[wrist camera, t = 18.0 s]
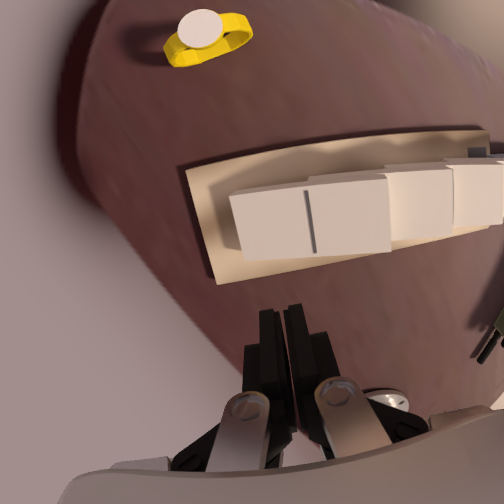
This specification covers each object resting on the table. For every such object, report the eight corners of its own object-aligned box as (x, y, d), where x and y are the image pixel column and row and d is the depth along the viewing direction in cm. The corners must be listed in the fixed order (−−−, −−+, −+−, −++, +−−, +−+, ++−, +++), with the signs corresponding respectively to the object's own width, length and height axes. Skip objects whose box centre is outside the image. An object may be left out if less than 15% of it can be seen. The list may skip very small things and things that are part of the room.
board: (484, 225, 25) (489, 228, 24) (218, 280, 27) (217, 285, 26) (483, 129, 21) (489, 130, 20) (187, 169, 23) (185, 170, 22)
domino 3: (383, 164, 22) (496, 161, 18) (388, 225, 24) (494, 217, 20) (387, 168, 20) (505, 164, 17) (391, 232, 22) (502, 224, 19)
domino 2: (309, 176, 22) (445, 165, 19) (318, 238, 24) (445, 227, 21) (307, 181, 21) (452, 169, 17) (317, 247, 23) (452, 235, 19)
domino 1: (236, 190, 23) (384, 173, 19) (250, 251, 25) (388, 242, 21) (228, 196, 21) (387, 178, 18) (244, 261, 23) (391, 252, 20)
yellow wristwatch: (185, 79, 20) (159, 68, 15) (174, 51, 19) (145, 34, 14) (258, 50, 19) (253, 28, 14) (245, 21, 18) (236, -7, 13)
